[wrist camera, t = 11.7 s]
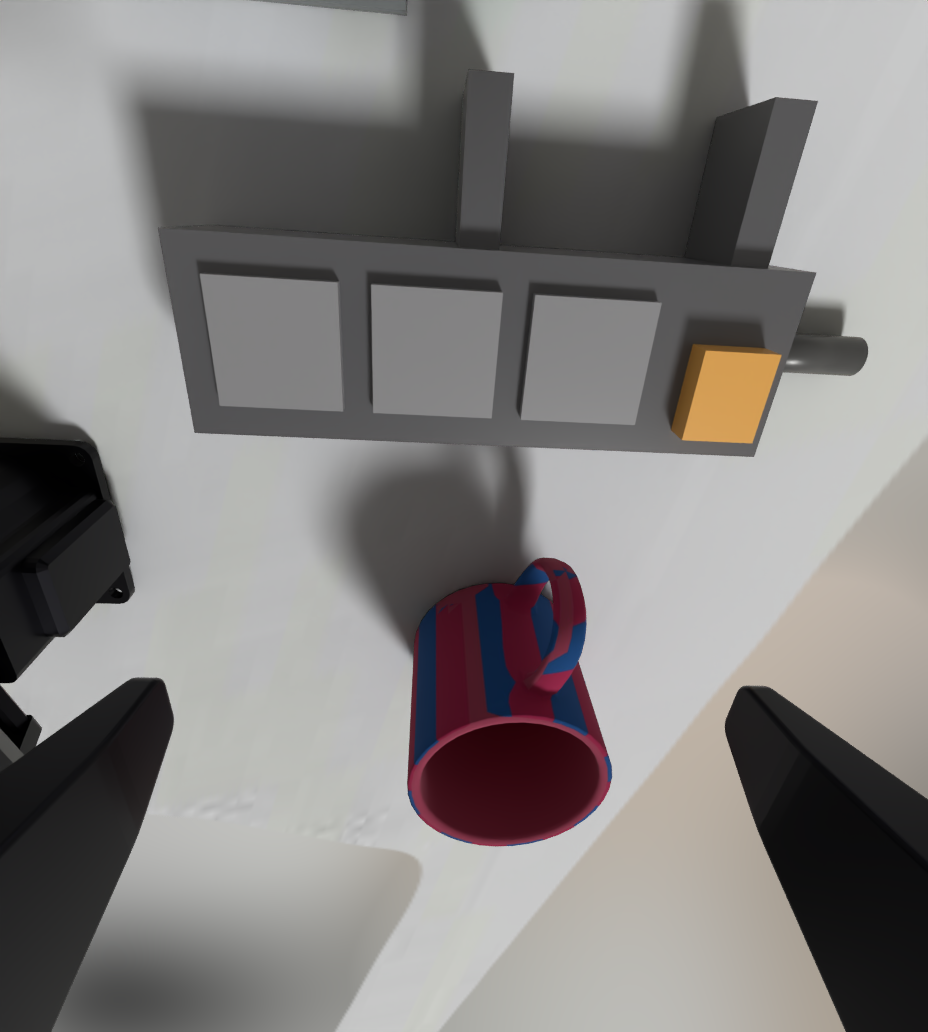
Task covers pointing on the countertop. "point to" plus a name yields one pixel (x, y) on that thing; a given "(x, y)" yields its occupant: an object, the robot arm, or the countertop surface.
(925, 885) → the robot arm
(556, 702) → the mug
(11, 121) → the countertop surface
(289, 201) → the countertop surface
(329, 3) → the mat
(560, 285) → the power strip
